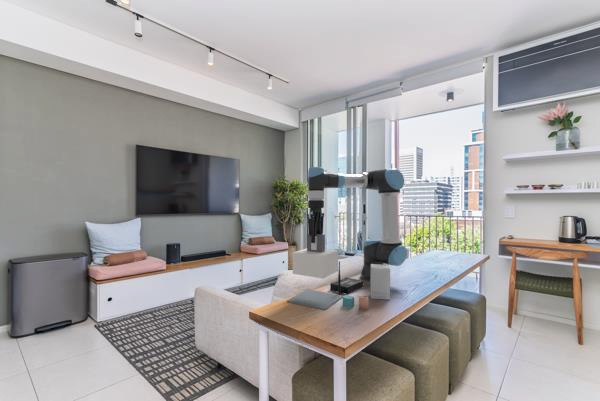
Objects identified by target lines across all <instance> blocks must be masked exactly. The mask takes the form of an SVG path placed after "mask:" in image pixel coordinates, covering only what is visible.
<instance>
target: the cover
mask: <svg viewBox="0 0 600 401" xmlns="http://www.w3.org/2000/svg"><path fill="white" fill-rule="evenodd" d="M316 236H317V250H311V236H309V234H308V233H307V234H306V248H303V249H300V250H296V251H293V252H292V275H299V276H305V277H311V278H318V279H325V278H327V277H329V276H331V275H333V274H335V273H337V272H339V250H338V249H327V248H326V234H323V235H321V234H316Z"/></svg>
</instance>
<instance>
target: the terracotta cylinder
mask: <svg viewBox="0 0 600 401" xmlns="http://www.w3.org/2000/svg"><path fill="white" fill-rule="evenodd" d="M358 310H360V311H362V312H363V311H364V312H365V311H369V296H365V295H359V297H358Z"/></svg>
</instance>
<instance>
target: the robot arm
mask: <svg viewBox="0 0 600 401" xmlns="http://www.w3.org/2000/svg"><path fill="white" fill-rule="evenodd" d="M404 185H405V176H404V175H403V173H402V172H401V171H400V170H399V169H397V168H386V169H377V170H371V171H365V172H359V173H358V174H357V173H355V174H352V173H350V174H349V173H348V174H347V173H344V174H343V173H341V172H330V171H329V172H327V171H326V172H325V169H324V167H323V166H312V167H309V168H308V171H307V189H308V191H307V192H308V193H307V196H308V198H307V199H308V201H307V205H308V206H307V208H308V209H310V211H309V213H307V214H306V217H307V229H308V233H307V234H309V236H311V250H317V236H316V234H321V235H324V221H325V220H324V218H325V213H324V212H322V209H324V207H325V200H324V199H325V189H343V188H344V189H346V188H348V189H349V188H352V189H353V188H359V189H361V190H372V191H373V190H374V191H377V192H378V195H380V196H381V198H380V199H381V216H382V217H381V218H382V221H381V222H382V239H367V240H364V243H363V266H362V269H361V271H360V278H361V279H363V280H366V281H370V282H371V264H381V265H390V266H391V267H392V266H395V267H399V266H402V265H403V263H405V261H406V259H407V257H408V251H407V247H406V246H404V245H403V242H402V239H400V236H399V235H400V234H399V210H398V209H399V207H398V206H399V203H398V196H399V194H400V193H401V189H403V187H404Z"/></svg>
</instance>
